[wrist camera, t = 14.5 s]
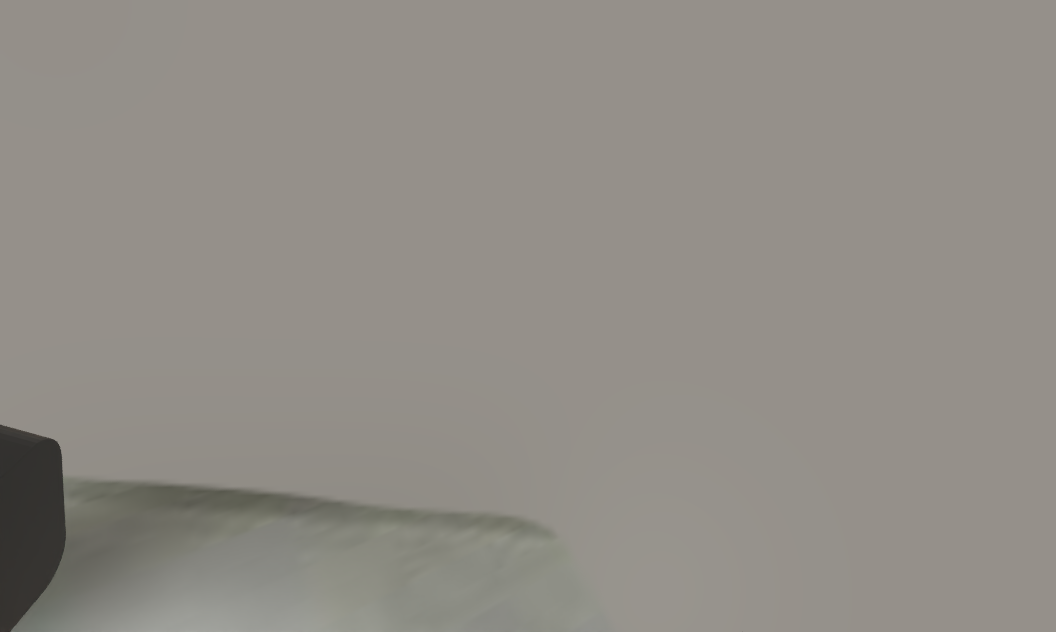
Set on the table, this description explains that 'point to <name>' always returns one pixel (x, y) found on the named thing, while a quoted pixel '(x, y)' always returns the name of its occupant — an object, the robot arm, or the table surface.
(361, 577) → the table surface
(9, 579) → the robot arm
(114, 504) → the table surface
